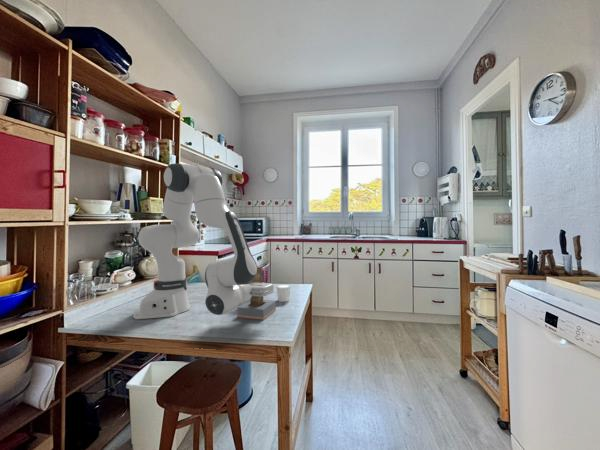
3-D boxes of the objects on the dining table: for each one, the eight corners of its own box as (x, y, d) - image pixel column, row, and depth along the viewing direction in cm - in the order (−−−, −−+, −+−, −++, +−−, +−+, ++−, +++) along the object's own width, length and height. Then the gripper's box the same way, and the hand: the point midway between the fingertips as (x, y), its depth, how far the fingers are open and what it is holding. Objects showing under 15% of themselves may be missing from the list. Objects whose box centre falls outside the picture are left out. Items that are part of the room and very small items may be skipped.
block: (259, 310, 110) (257, 267, 110) (250, 309, 112) (249, 267, 111) (263, 307, 114) (262, 266, 114) (255, 306, 115) (254, 265, 115)
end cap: (263, 319, 105) (263, 309, 105) (237, 316, 109) (237, 307, 109) (275, 309, 117) (275, 300, 117) (251, 307, 121) (251, 298, 120)
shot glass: (276, 298, 134) (276, 284, 134) (290, 297, 135) (289, 284, 134) (276, 302, 127) (276, 288, 127) (290, 301, 128) (290, 287, 128)
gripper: (264, 285, 97) (279, 277, 110) (217, 282, 104) (236, 275, 117) (265, 302, 97) (279, 292, 110) (218, 298, 104) (237, 289, 117)
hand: (257, 283), depth 114 cm, fingers closed on block, 4 cm apart
